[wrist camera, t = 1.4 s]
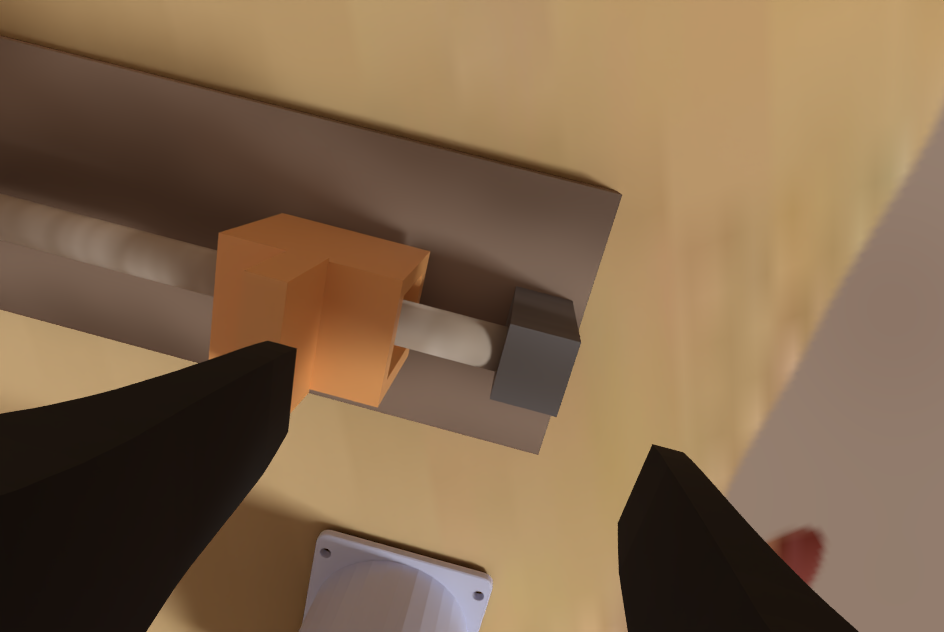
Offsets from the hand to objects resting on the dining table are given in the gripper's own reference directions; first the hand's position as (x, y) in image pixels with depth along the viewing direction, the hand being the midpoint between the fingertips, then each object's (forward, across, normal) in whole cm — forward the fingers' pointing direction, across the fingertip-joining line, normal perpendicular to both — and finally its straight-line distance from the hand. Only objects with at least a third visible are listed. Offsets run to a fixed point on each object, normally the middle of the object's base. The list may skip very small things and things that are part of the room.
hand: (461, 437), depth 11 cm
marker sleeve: (+8, +5, +1) cm, 9 cm away
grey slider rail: (+10, +11, +1) cm, 15 cm away
